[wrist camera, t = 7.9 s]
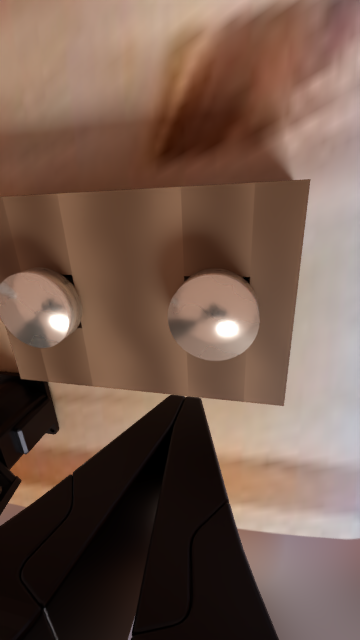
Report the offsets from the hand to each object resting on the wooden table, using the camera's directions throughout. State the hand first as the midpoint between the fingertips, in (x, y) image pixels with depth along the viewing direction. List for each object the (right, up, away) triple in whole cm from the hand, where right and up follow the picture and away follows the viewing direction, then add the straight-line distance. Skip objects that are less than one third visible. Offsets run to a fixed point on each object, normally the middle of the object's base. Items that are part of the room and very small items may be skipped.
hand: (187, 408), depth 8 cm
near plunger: (+3, +5, +11) cm, 13 cm away
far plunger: (-7, +5, +14) cm, 16 cm away
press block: (-2, +5, +13) cm, 14 cm away
